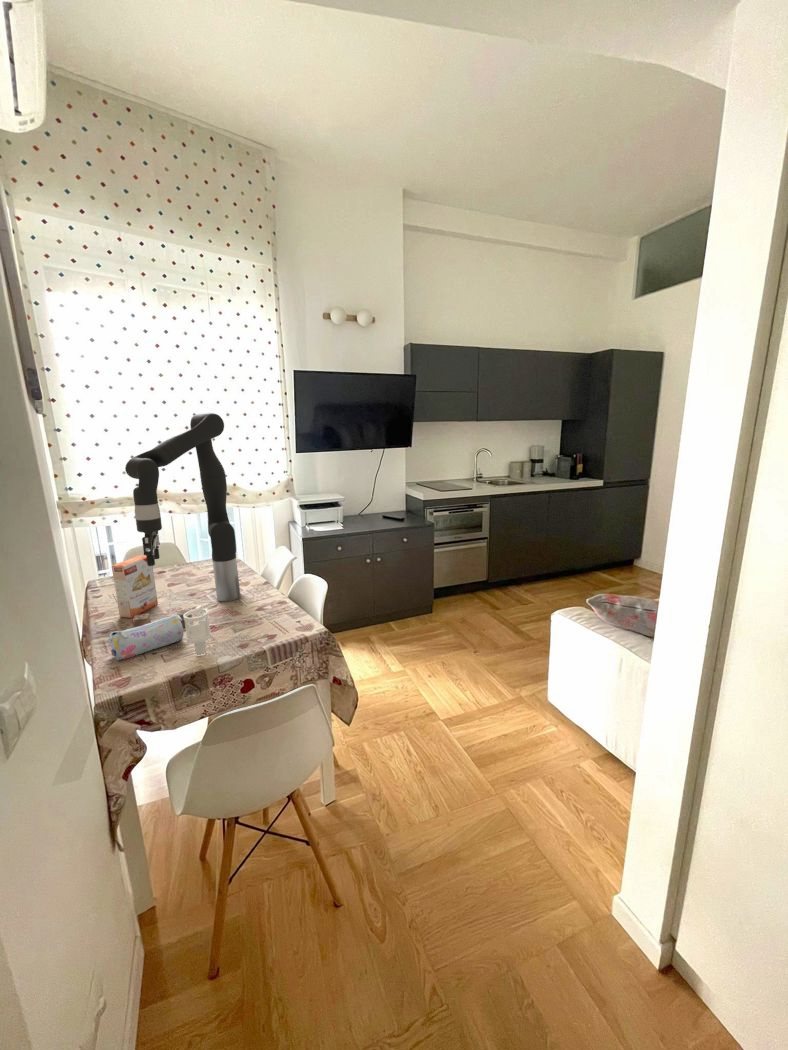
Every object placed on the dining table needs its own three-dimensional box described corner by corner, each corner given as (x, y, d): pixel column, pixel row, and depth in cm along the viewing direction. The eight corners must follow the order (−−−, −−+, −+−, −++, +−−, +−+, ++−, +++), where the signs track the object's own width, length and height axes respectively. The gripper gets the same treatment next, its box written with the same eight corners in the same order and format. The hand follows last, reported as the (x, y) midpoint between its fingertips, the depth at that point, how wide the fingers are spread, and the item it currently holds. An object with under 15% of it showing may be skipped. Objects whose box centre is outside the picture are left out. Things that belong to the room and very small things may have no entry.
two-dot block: (192, 620, 160) (190, 608, 159) (191, 625, 156) (189, 613, 155) (179, 622, 159) (177, 610, 158) (177, 627, 155) (175, 615, 154)
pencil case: (114, 666, 130) (108, 637, 128) (110, 655, 137) (104, 627, 134) (187, 643, 143) (183, 617, 141) (180, 634, 150) (176, 608, 148)
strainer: (216, 647, 140) (211, 604, 136) (208, 659, 133) (202, 614, 129) (194, 648, 139) (188, 605, 136) (185, 660, 132) (178, 615, 129)
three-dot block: (151, 624, 157) (149, 612, 156) (148, 629, 153) (146, 617, 152) (137, 626, 156) (135, 614, 155) (134, 632, 152) (132, 620, 151)
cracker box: (132, 618, 162) (123, 566, 158) (119, 617, 164) (109, 565, 159) (159, 603, 176) (151, 555, 171) (146, 603, 177) (138, 554, 172)
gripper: (156, 520, 142) (162, 567, 145) (163, 512, 155) (168, 555, 158) (130, 521, 139) (137, 569, 143) (140, 513, 152) (146, 557, 156)
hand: (153, 562), depth 151 cm, fingers open, 8 cm apart
